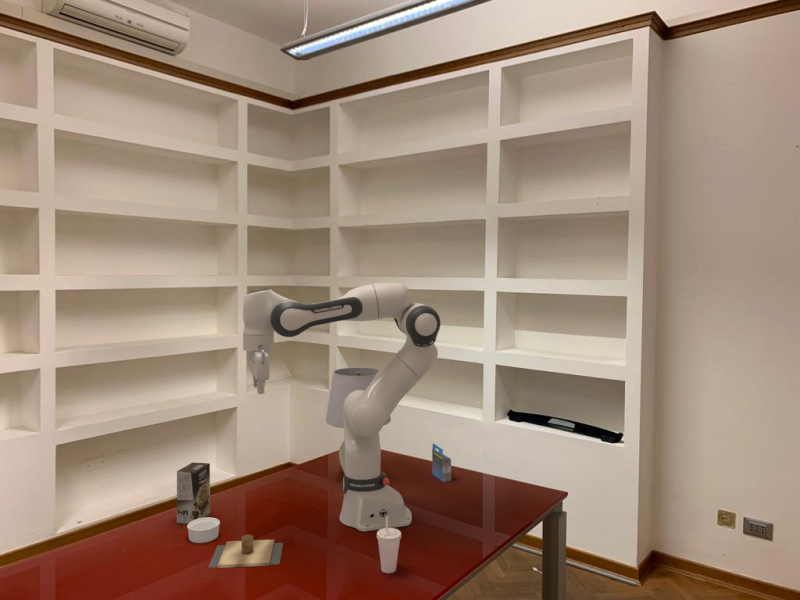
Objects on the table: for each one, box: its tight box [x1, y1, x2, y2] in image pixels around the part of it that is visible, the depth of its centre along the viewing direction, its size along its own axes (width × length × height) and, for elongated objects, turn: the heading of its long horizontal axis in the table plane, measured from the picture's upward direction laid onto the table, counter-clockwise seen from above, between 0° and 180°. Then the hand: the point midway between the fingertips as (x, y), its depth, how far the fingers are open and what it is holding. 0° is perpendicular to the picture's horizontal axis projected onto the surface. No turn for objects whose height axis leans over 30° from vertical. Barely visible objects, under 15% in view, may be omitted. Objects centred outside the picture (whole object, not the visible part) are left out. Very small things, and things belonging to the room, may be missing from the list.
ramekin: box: [186, 516, 221, 544], centre depth 167 cm, size 9×9×4 cm
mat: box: [208, 542, 284, 568], centre depth 157 cm, size 18×12×1 cm, turn 96°
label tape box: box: [431, 442, 452, 483], centre depth 217 cm, size 9×4×12 cm, turn 23°
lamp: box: [325, 366, 392, 474], centre depth 215 cm, size 24×24×40 cm
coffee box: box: [176, 462, 211, 524], centre depth 180 cm, size 9×6×16 cm
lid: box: [217, 534, 275, 569], centre depth 157 cm, size 13×13×5 cm
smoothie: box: [376, 516, 402, 574], centre depth 150 cm, size 6×6×14 cm
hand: (258, 390), depth 172 cm, fingers open, 8 cm apart
